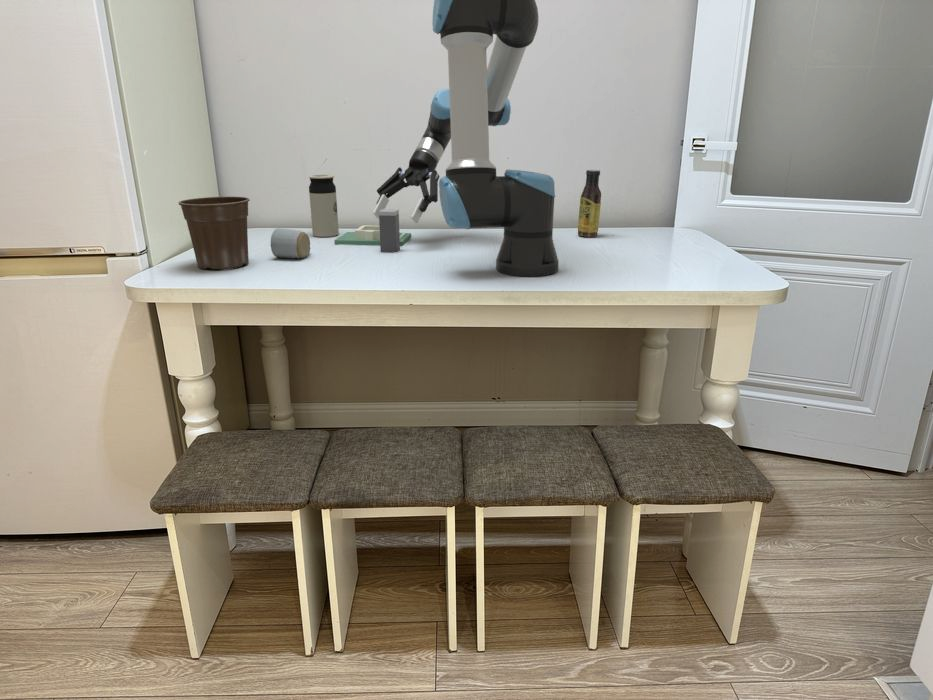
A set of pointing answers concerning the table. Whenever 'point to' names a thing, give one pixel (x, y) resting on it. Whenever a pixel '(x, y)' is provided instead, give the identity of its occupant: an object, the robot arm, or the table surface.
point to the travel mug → (323, 206)
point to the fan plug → (389, 230)
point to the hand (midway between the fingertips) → (394, 218)
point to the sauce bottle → (590, 205)
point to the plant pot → (218, 230)
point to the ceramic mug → (290, 243)
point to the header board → (367, 236)
